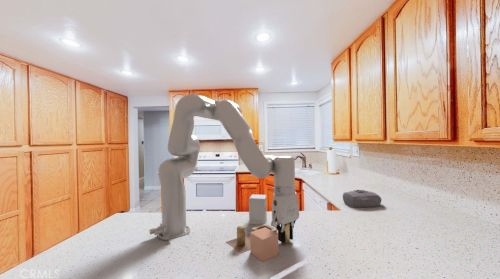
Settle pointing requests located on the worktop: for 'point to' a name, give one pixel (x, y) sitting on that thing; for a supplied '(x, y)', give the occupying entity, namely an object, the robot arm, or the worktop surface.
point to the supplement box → (257, 209)
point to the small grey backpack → (361, 199)
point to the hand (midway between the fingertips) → (285, 239)
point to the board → (245, 238)
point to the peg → (287, 233)
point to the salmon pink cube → (264, 243)
